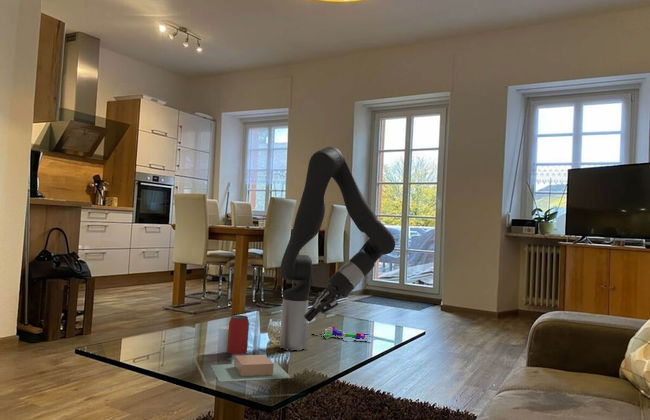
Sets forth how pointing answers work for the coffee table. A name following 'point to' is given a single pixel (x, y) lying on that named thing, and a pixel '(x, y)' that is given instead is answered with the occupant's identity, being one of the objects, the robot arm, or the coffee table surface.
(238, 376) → the felt mat
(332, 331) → the building block set
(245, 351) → the beer can
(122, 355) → the coffee table surface
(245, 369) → the tile
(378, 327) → the coffee table surface
